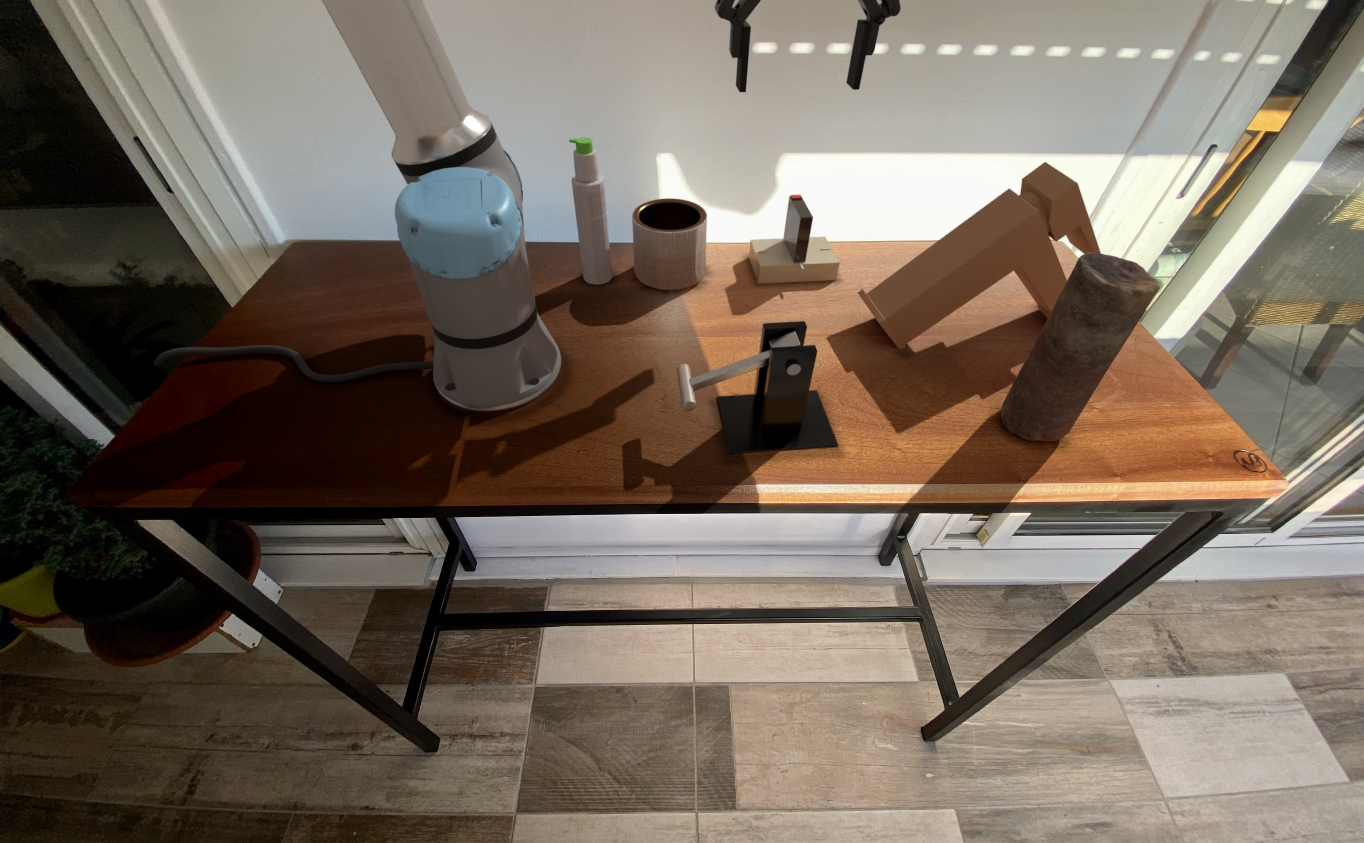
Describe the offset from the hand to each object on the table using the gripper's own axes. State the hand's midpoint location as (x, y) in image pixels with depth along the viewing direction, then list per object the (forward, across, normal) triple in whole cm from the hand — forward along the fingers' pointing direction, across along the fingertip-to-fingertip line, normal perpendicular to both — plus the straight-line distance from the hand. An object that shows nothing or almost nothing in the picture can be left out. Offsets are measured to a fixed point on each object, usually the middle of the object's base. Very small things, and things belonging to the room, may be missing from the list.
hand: (797, 88), depth 71 cm
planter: (+27, +15, -4) cm, 31 cm away
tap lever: (+19, +10, +30) cm, 37 cm away
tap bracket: (+27, +6, +30) cm, 41 cm away
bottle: (+27, +26, -4) cm, 38 cm away
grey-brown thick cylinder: (+27, -24, +32) cm, 48 cm away
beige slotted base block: (+27, -4, -4) cm, 27 cm away
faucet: (+27, -24, +14) cm, 39 cm away
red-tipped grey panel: (+24, -4, -4) cm, 24 cm away
